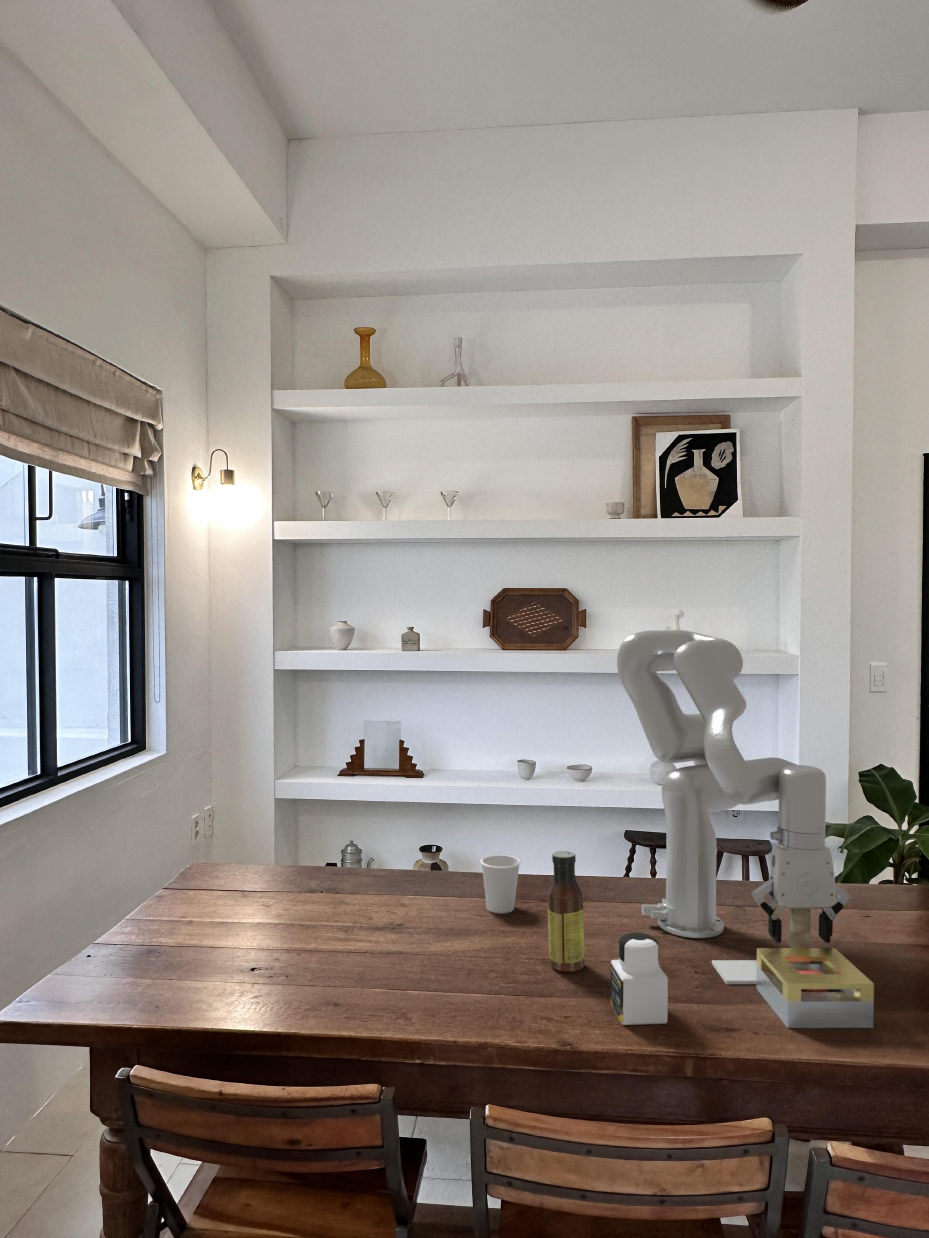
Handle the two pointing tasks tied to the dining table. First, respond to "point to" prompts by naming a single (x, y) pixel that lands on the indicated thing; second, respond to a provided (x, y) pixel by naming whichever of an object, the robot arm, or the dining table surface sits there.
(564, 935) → the sauce bottle
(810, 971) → the button
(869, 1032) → the dining table surface
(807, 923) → the beige cylinder rod
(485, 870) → the dixie cup
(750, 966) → the pad
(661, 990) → the medicine bottle
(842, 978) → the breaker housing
